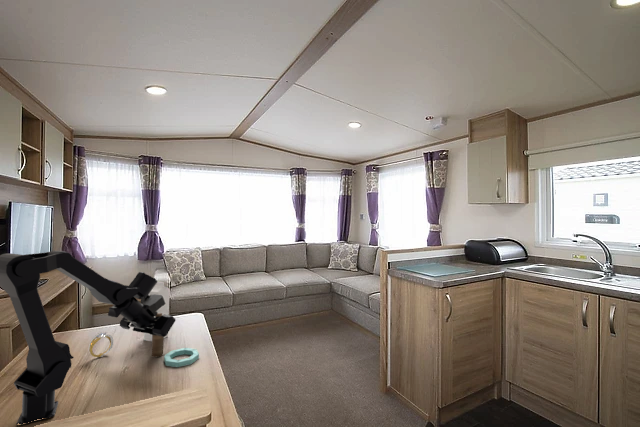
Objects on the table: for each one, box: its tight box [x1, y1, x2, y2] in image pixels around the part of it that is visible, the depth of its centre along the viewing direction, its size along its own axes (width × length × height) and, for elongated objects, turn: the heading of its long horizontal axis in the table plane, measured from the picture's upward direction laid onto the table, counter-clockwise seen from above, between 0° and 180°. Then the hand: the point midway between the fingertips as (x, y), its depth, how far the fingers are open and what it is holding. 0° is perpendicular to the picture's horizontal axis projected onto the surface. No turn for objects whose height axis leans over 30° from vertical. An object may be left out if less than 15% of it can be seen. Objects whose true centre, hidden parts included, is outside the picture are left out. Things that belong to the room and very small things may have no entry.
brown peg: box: [151, 313, 165, 358], centre depth 104 cm, size 4×4×14 cm
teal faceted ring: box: [163, 347, 200, 368], centre depth 102 cm, size 10×10×2 cm
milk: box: [143, 280, 171, 342], centre depth 118 cm, size 6×6×22 cm
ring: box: [88, 331, 114, 358], centre depth 102 cm, size 7×3×8 cm, turn 145°
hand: (161, 333), depth 105 cm, fingers closed on brown peg, 3 cm apart
